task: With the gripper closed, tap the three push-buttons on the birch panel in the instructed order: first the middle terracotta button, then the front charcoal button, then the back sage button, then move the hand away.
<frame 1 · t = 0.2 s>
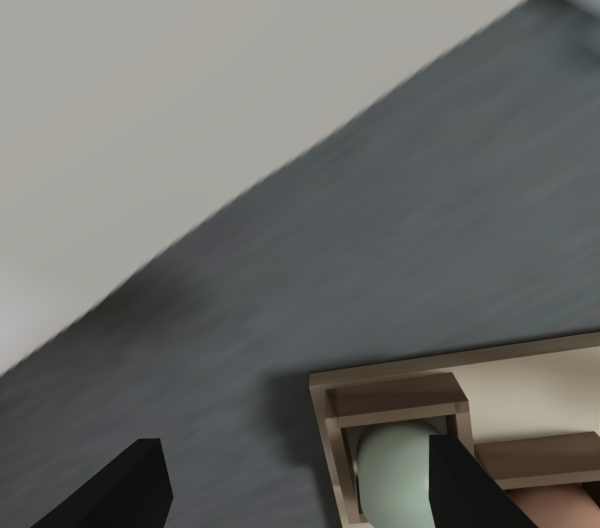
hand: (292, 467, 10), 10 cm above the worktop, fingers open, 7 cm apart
button panel: (518, 469, 20), on the worktop
sage button: (406, 475, 16), point 4 cm above the worktop, slide at 0.0 cm
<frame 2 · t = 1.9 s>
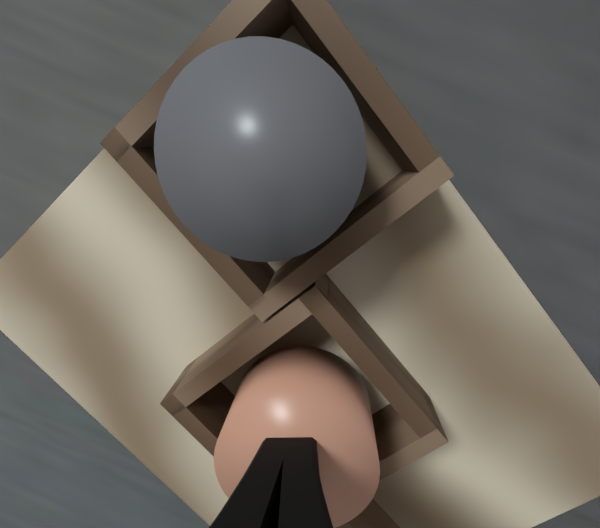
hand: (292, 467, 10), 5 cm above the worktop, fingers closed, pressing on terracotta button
charcoal button: (268, 158, 9), point 4 cm above the worktop, slide at 0.0 cm
terracotta button: (299, 433, 11), point 4 cm above the worktop, slide at 0.0 cm, touching gripper
button panel: (307, 363, 14), on the worktop
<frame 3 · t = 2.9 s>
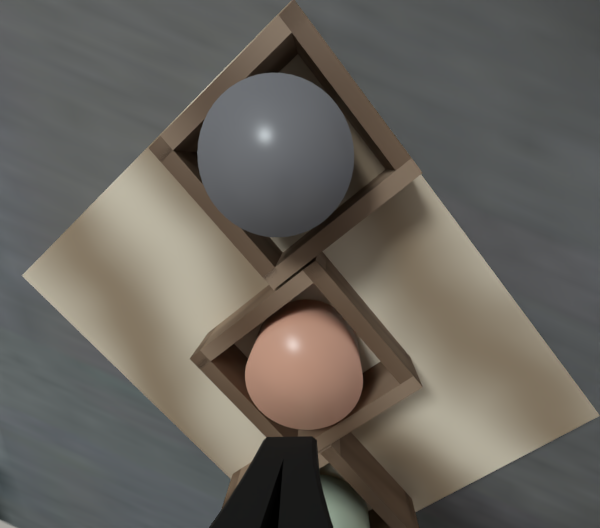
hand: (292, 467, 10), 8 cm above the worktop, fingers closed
charcoal button: (280, 160, 11), point 4 cm above the worktop, slide at 0.0 cm
terracotta button: (305, 361, 15), point 3 cm above the worktop, slide at 1.3 cm
button panel: (309, 332, 17), on the worktop
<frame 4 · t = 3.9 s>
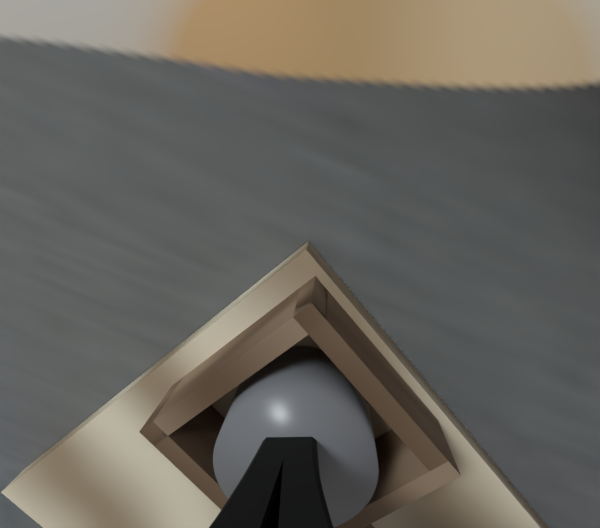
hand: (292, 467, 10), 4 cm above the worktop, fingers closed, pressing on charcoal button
charcoal button: (298, 433, 11), point 3 cm above the worktop, slide at 1.3 cm, touching gripper
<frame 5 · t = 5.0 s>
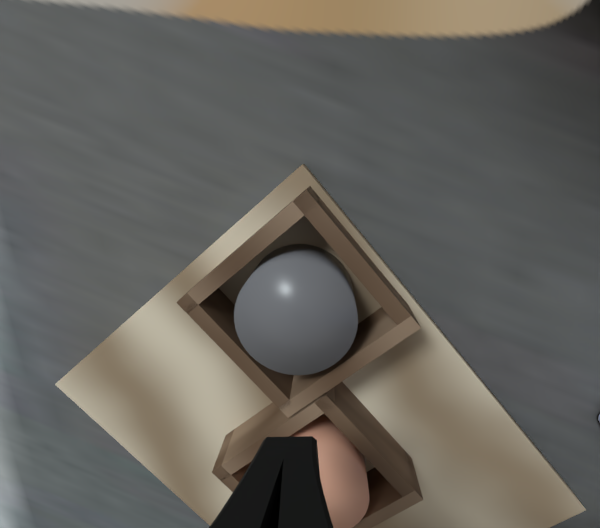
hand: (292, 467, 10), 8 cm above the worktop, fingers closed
charcoal button: (298, 306, 14), point 3 cm above the worktop, slide at 1.3 cm
terracotta button: (316, 470, 16), point 3 cm above the worktop, slide at 1.3 cm
button panel: (318, 428, 19), on the worktop
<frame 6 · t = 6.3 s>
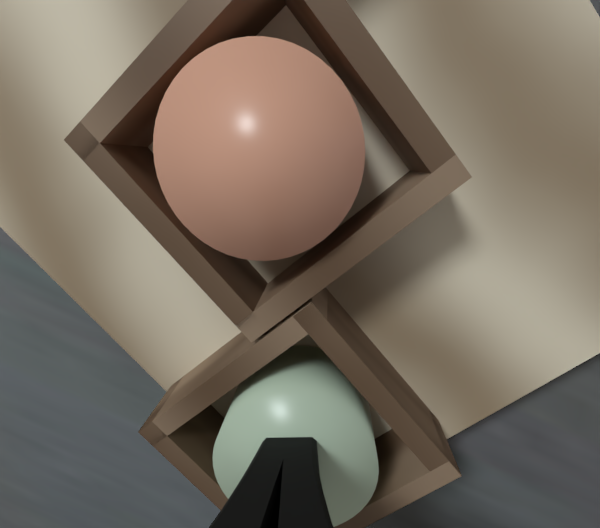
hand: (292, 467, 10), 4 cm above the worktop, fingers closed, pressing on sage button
terracotta button: (267, 158, 9), point 3 cm above the worktop, slide at 1.3 cm
button panel: (281, 158, 11), on the worktop
sage button: (298, 432, 11), point 3 cm above the worktop, slide at 1.3 cm, touching gripper
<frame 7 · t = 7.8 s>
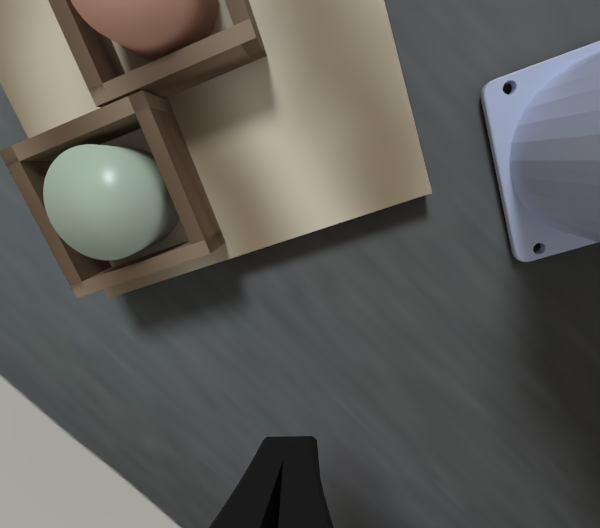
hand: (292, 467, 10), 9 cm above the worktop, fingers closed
button panel: (175, 13, 15), on the worktop
sage button: (117, 201, 15), point 3 cm above the worktop, slide at 1.3 cm
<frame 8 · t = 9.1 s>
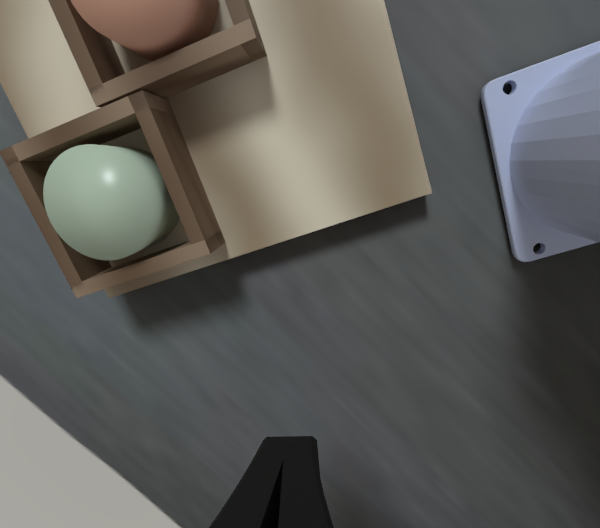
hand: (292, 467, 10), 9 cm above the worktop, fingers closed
button panel: (175, 13, 15), on the worktop
sage button: (117, 201, 15), point 3 cm above the worktop, slide at 1.3 cm
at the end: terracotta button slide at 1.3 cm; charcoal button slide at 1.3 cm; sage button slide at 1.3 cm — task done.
